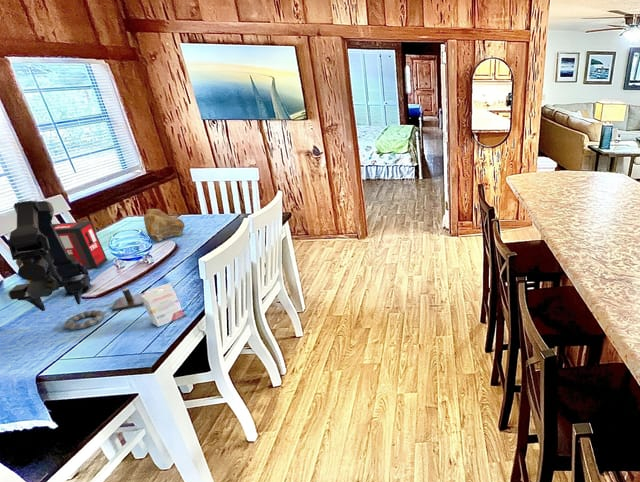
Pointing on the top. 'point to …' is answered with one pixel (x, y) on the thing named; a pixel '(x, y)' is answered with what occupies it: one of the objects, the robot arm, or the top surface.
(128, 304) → the tape stand
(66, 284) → the robot arm
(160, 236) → the rough brown rock
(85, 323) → the grey-brown segmented ring
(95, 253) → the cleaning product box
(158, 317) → the ink cartridge box
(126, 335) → the top surface
